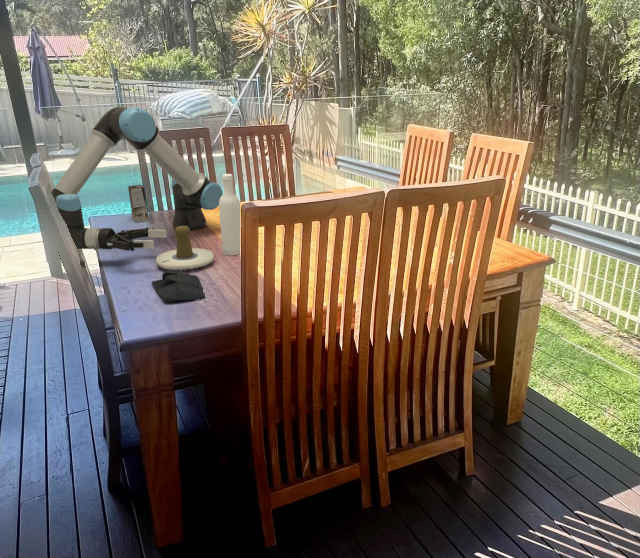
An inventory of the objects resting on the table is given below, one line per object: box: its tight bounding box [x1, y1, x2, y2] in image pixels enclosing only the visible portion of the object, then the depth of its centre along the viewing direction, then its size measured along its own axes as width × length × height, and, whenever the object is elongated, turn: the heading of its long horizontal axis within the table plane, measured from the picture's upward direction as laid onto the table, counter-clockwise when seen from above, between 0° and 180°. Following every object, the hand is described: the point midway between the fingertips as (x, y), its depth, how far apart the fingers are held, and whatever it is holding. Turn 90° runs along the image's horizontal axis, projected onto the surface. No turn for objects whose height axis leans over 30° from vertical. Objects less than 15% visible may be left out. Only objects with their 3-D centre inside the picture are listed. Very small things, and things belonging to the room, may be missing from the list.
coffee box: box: [127, 184, 149, 223], centre depth 248 cm, size 9×6×16 cm
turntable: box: [155, 247, 215, 270], centre depth 189 cm, size 20×20×2 cm
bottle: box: [218, 173, 241, 256], centre depth 197 cm, size 8×8×30 cm
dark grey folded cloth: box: [151, 268, 206, 303], centre depth 166 cm, size 15×22×5 cm
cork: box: [174, 226, 194, 259], centre depth 187 cm, size 6×6×11 cm
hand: (160, 238), depth 187 cm, fingers open, 13 cm apart
